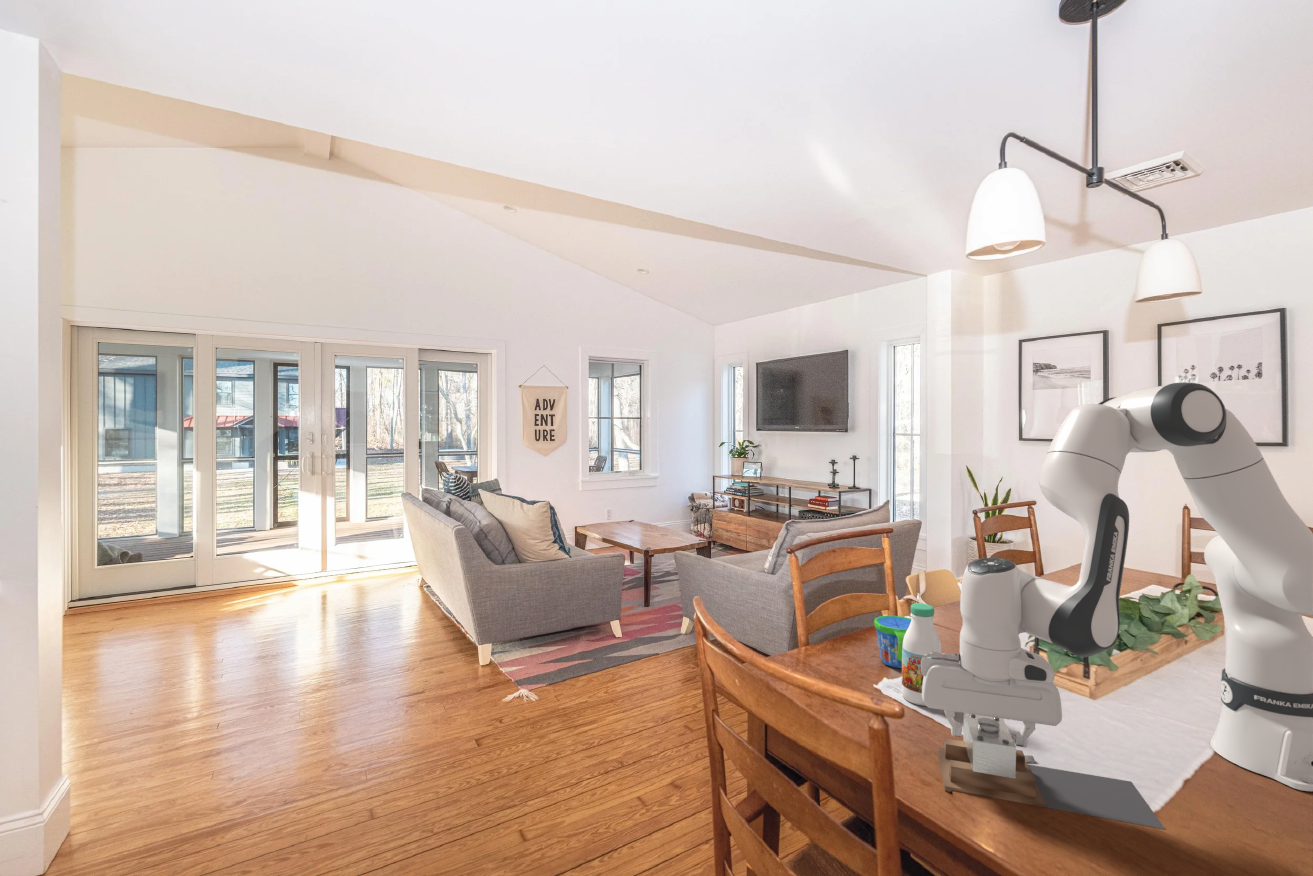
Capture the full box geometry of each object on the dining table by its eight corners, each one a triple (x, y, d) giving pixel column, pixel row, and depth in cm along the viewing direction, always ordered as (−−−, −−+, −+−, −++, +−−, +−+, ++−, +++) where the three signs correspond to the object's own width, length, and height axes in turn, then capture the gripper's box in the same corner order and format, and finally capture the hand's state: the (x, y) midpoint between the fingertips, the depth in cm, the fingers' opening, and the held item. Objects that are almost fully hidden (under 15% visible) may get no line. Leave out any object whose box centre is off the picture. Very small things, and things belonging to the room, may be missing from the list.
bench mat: (1131, 784, 98) (1131, 781, 98) (1165, 832, 87) (1165, 829, 87) (1019, 765, 104) (1019, 763, 104) (1038, 808, 92) (1038, 805, 92)
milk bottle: (896, 690, 132) (897, 600, 131) (931, 690, 132) (933, 600, 131) (909, 707, 124) (911, 611, 124) (947, 707, 124) (949, 612, 123)
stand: (1026, 766, 103) (1026, 747, 103) (1045, 809, 92) (1046, 788, 92) (936, 751, 108) (937, 733, 108) (944, 791, 97) (945, 770, 97)
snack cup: (873, 648, 156) (873, 609, 155) (917, 653, 152) (918, 614, 152) (874, 673, 141) (874, 630, 140) (923, 679, 137) (924, 635, 137)
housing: (1015, 778, 94) (1016, 741, 94) (972, 771, 96) (973, 734, 96) (1002, 745, 104) (1002, 711, 103) (963, 739, 106) (963, 706, 105)
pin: (1029, 756, 105) (1033, 754, 104) (1032, 765, 105) (1035, 763, 103) (1005, 755, 106) (1008, 753, 105) (1007, 764, 105) (1010, 762, 104)
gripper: (922, 657, 100) (921, 738, 100) (1066, 674, 93) (1064, 761, 93) (919, 643, 106) (918, 720, 106) (1054, 658, 99) (1052, 741, 99)
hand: (987, 740), depth 100 cm, fingers open, 8 cm apart
